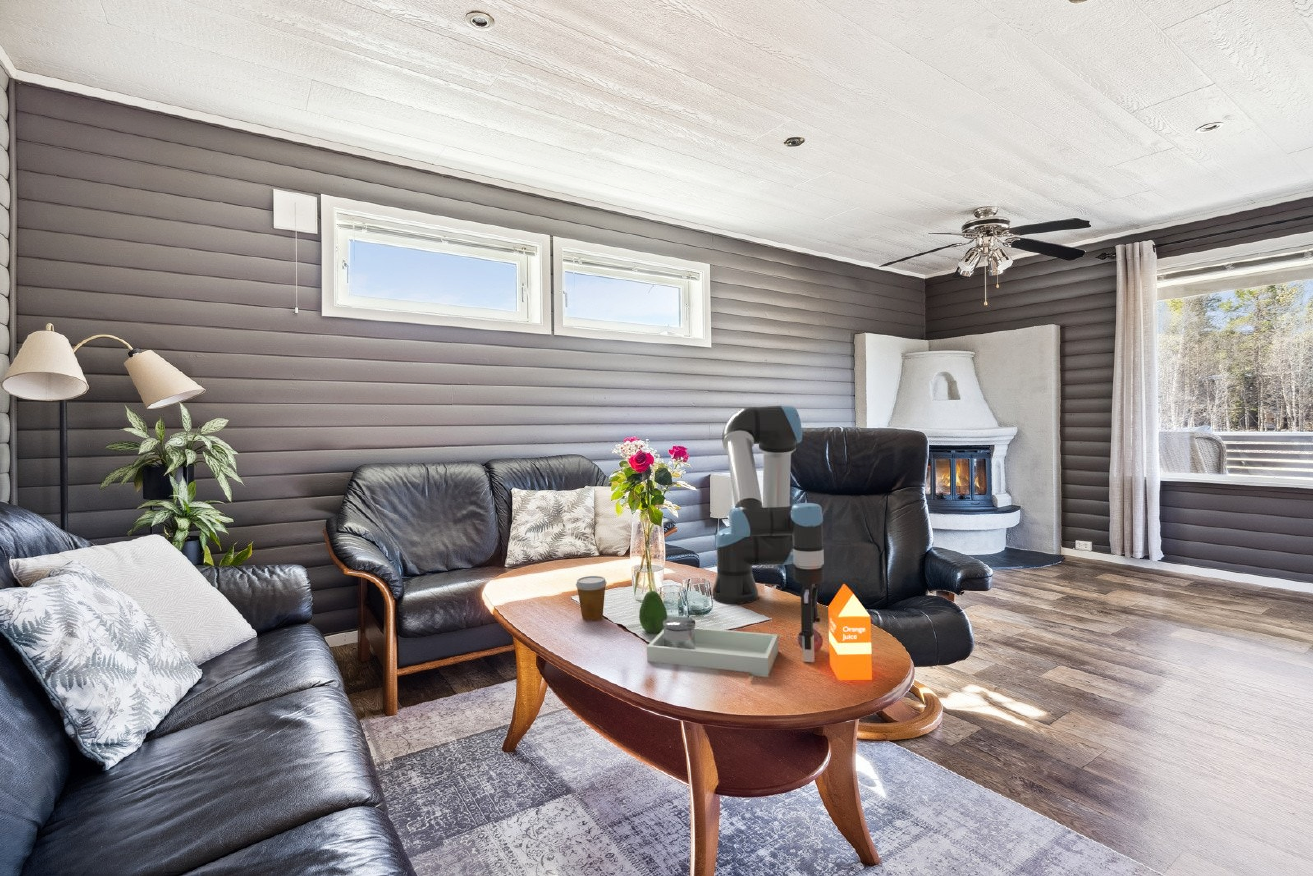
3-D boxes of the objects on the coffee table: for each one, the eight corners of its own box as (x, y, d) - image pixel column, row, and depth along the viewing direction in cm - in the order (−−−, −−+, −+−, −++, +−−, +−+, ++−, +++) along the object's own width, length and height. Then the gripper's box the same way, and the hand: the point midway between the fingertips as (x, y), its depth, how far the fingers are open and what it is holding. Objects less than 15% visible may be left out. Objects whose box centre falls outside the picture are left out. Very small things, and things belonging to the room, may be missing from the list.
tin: (669, 644, 166) (668, 616, 165) (700, 647, 163) (699, 618, 163) (659, 656, 158) (658, 626, 158) (690, 659, 155) (690, 629, 155)
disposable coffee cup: (614, 616, 193) (612, 578, 192) (592, 625, 185) (590, 585, 185) (592, 611, 199) (591, 574, 198) (570, 619, 191) (569, 580, 191)
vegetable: (794, 651, 160) (793, 613, 159) (818, 649, 160) (817, 611, 160) (802, 660, 154) (801, 620, 153) (826, 658, 154) (825, 619, 154)
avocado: (654, 626, 182) (652, 586, 182) (673, 632, 177) (671, 590, 176) (633, 634, 177) (632, 592, 176) (653, 640, 171) (651, 597, 171)
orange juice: (838, 680, 142) (835, 593, 141) (829, 664, 151) (827, 583, 150) (872, 679, 142) (870, 592, 141) (862, 664, 150) (860, 582, 150)
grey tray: (667, 641, 170) (667, 625, 170) (778, 652, 160) (778, 634, 160) (647, 664, 155) (646, 646, 155) (768, 677, 145) (767, 658, 145)
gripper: (798, 555, 168) (800, 638, 168) (787, 575, 147) (789, 669, 148) (827, 556, 165) (829, 640, 166) (819, 577, 145) (822, 672, 146)
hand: (810, 654), depth 157 cm, fingers open, 9 cm apart
